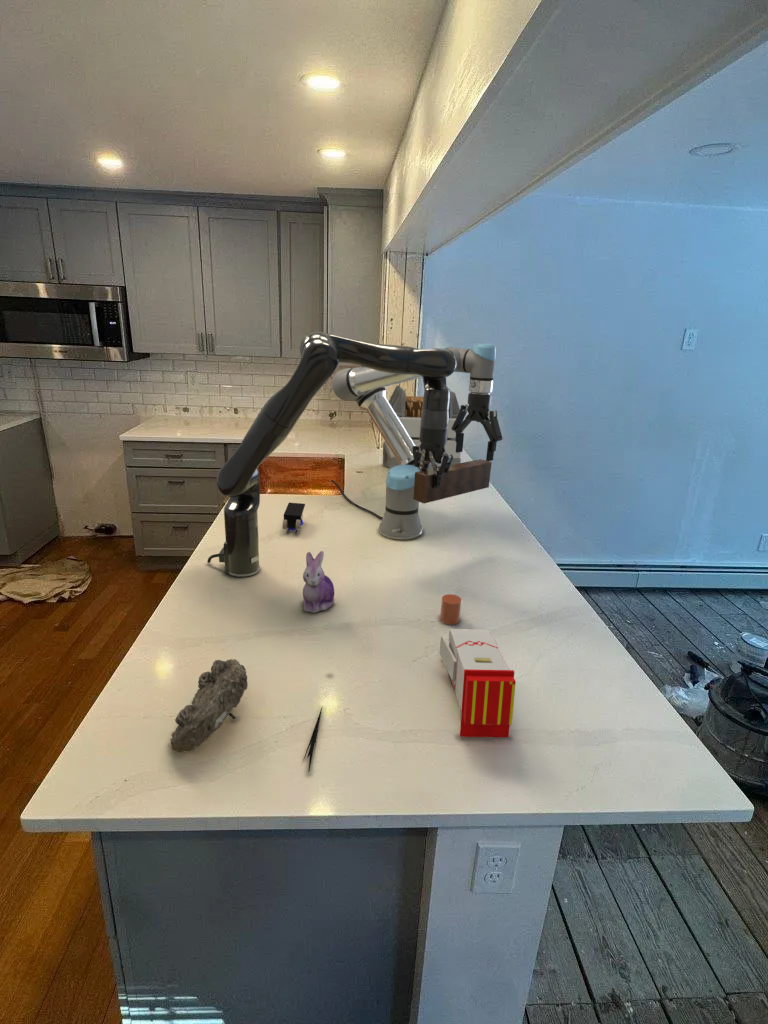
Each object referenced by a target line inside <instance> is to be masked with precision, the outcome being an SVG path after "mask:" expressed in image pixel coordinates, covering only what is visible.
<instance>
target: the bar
mask: <svg viewBox="0 0 768 1024" xmlns="http://www.w3.org/2000/svg"><path fill="white" fill-rule="evenodd" d="M437 470H438V468H437ZM491 473H492V461H486V459H482V458H478V459H474V460H469V461H464V462H460V463H459V464H454V465H450V468H449V471H448V473H447V474H444V475H442V476H441V485H440V486H439V488H436V489H434V488H432V485H433V475H434V472H433V469H429V470H424V471H419V472H415V481H414V496H413V500H416V501H419V503H422V504H428V503H432V502H436V501H441V500H444V499H448V498H453V497H456V496H460V495H464V494H468V493H473V492H476V491H480V490H483V489H488V488H489V487H490V480H491Z"/></svg>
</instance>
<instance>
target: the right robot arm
mask: <svg viewBox="0 0 768 1024" xmlns="http://www.w3.org/2000/svg"><path fill="white" fill-rule="evenodd" d="M440 349H443V350H447V351H449V352H450V353H452V354H453V355H454V357H455V359H456V369H455V371H454V372H453V373H464V374H465V373H466V374H469V384H468V391H469V393H468V394H467V404H461V405H460V406H459V408H460V412H459V414H458V416H457V418H456V420H455V422H454V424H453V426H452V428H451V429H452V430H454V431H455V433H456V438H455V442H456V453H458V452H461V453H462V452H463V448H464V437H465V433H464V431H465V429H467V427H468V426H469V425H470V424H471V423H472V422H477V423H480V424H481V425H482V427H483V429H484V431H485V433H486V435H487V437H488V439H489V440H488V442H487V448H486V455H485V456H486V457H485V460H486V461H489V462H492V461H494V456H495V452H496V451H497V444H498V442H500V441H503V435H502V430H501V427H500V423H499V419H498V410H495V409H494V410H490V406H491V404H492V394H491V393H493V387H494V386H493V385H494V373H495V366H496V362H497V361H496V360H497V359H496V358H497V347H496V345H495V344H493V343H481V342H479V343H477V342H476V343H473V345H472V348H461V347H452V346H446V347H445V346H443V347H440ZM419 379H423V376H422V375H415V374H393V373H385V372H380V371H377V370H374V369H370V368H367V367H364V366H359V367H346V368H342V369H341V370H339V371H338V372H336V373H335V375H334V376H333V378H332V381H331V383H332V384H331V386H332V391H333V393H334V394H335V396H336V397H337V398H338V399H340V400H341V401H343V402H356V404H357V405H358V407H359V409H360V410H364V411H366V412H367V414H368V416H369V417H370V419H371V421H372V422H373V424H374V425H375V427H376V428H377V431H379V433H380V435H381V436H382V438H383V441H384V440H385V441H386V443H387V445H388V446H389V448H390V449H391V451H392V453H393V454H394V456H395V458H396V459H397V461H398V462H399V464H400V465H398V466H394V467H392V468H391V469H390V470H389V469H388V471H387V473H386V479H385V504H384V505H385V507H384V508H385V509H384V513H383V515H382V516H381V515H379V514H378V513H376V512H373V511H372V510H370V509H367V508H365V507H363V506H361V505H359V504H357V503H355V502H354V501H352V500H351V499H350V498H348V496H347V495H346V494H345V493H344V491H343V489H341V487H340V485H339V484H338V483H337V482H336V481H335V480H333V479H331V480H330V482H331V483H332V484H334V485H335V486H336V487H337V489H338V491H339V492H340V493H341V495H342V497H343V498H344V499H345V500H346V501H348V503H350V504H351V505H353V506H354V507H357V508H358V509H360V510H361V511H362V510H363V511H364V512H367V513H369V514H371V515H373V516H375V517H376V518H378V519H379V520H381V522H379V526H378V533H379V534H380V535H381V536H382V537H385V538H387V539H389V540H395V541H410V540H415V539H418V538H420V537H421V536H422V535H423V525H422V524H421V518H420V515H419V507H420V506H419V505H420V502H419V501H416V500H413V496H414V481H415V472H419V471H420V470H419V468H418V467H415V465H414V457H413V450H412V447H413V446H416V445H415V444H414V442H413V441H412V439H411V437H410V436H409V434H408V433H407V431H406V429H405V428H404V426H403V425H402V423H401V421H400V420H399V418H398V416H397V415H396V413H395V412H394V410H393V408H392V407H391V405H390V404H389V400H388V399H387V395H388V391H387V389H386V387H390V386H394V385H399V384H403V383H406V382H410V381H414V380H415V381H416V380H419ZM463 420H464V421H463ZM462 421H463V422H462ZM461 432H462V433H461ZM385 441H384V442H385ZM418 462H419V458H418ZM436 464H437V463H436ZM437 468H438V467H437ZM429 469H433V468H432V467H431V463H430V464H429V466H428V469H427V470H429Z"/></svg>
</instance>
